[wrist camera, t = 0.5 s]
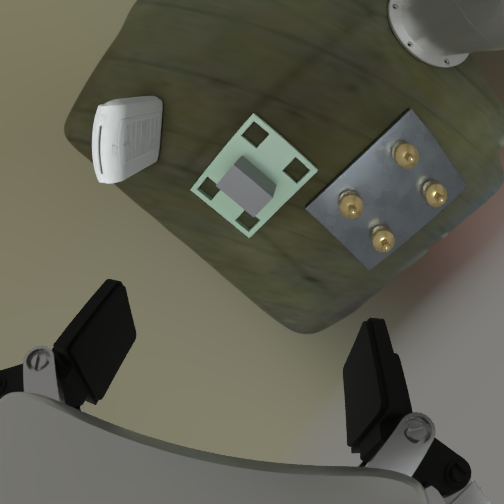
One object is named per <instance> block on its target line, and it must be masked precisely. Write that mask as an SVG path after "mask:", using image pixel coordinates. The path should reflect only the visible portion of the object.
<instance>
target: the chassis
mask: <svg viewBox="0 0 504 504" xmlns="http://www.w3.org/2000/svg"><path fill="white" fill-rule="evenodd" d="M465 188H466V185H465V183H464V182H463V180H462V178H461V177H460V175H459V173H458V172H457V170H456V169H455V167H454V166H453V164H452V163H451V161H450V160H449V158H448V157H447V155H446V154H445V152H444V151H443V149H442V148H441V147H440V145H439V144H438V142H437V141H436V140H435V138H434V137H433V136H432V134H431V133H430V132H429V130H428V129H427V128H426V126H425V125H424V124H423V123H422V121H421V120H420V119H419V118H418V116H417V115H416V114H415V113H414V111H413V110H412V109H410V108H408V109H407V110H406V111H405V112H404V113H403V114H402V115H401V116H399V117H398V118H397V119H396V120H395V121H394V122H393V123H392V124H391V125H390V126H389V127H388V128H387V129H386V130H385V131H384V132H383V133H382V134H381V135H379V136H378V137H377V138H376V139H375V140H374V141H373V142H372V143H371V144H370V145H369V146H368V147H367V148H366V149H365V150H364V151H363V152H362V153H361V154H359V155H358V156H357V157H356V158H355V159H354V160H353V161H352V162H351V163H350V164H349V165H348V166H347V167H346V168H345V169H344V170H343V171H341V172H340V173H339V174H338V175H337V176H336V177H335V178H334V179H333V180H332V181H331V182H330V183H329V184H328V185H327V186H326V187H325V188H324V189H322V190H321V191H320V192H319V193H318V194H317V195H316V196H315V197H314V198H313V199H312V200H311V201H310V202H309V203H308V204H307V205H306V206H305V209H306V210H307V211H308V212H309V213H310V214H312V215H313V216H314V217H315V218H316V219H317V220H318V221H319V222H320V223H321V224H322V225H323V226H324V227H325V228H326V229H328V230H329V231H330V232H331V233H332V234H333V235H334V236H335V237H336V238H337V239H338V240H339V241H340V242H341V243H342V244H343V245H344V246H345V247H346V248H347V249H348V250H349V251H350V252H351V253H352V254H353V255H354V256H355V257H356V258H357V259H358V260H359V261H360V262H361V263H362V264H363V265H364V266H365V267H366V268H367V269H368V270H369V271H370V270H371V269H372V268H373V267H375V266H376V265H377V264H379V263H380V262H381V261H382V260H384V259H385V258H386V257H387V256H389V255H390V254H391V253H392V252H394V251H395V250H396V249H397V248H398V247H400V246H401V245H402V244H403V243H404V242H406V241H407V240H408V239H409V238H410V237H412V236H413V235H414V234H415V233H416V232H418V231H419V230H420V229H421V228H422V227H423V226H425V225H426V224H427V223H428V222H429V221H430V220H431V219H433V218H434V217H435V216H436V215H437V214H438V213H439V212H440V211H441V210H443V209H444V208H445V207H446V206H447V205H448V204H449V203H450V202H451V201H452V200H454V199H455V198H456V197H457V196H458V195H459V194H460V193H461V192H462V191H463V190H464V189H465Z"/></svg>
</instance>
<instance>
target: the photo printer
mask: <svg viewBox="0 0 504 504" xmlns="http://www.w3.org/2000/svg"><path fill="white" fill-rule="evenodd" d="M162 110H163V103H162V100H160V99H159V98H158V97H156V96H142V97H132V98H123V99H116V100H111V101H109V102H107V103H105V104H101V105H99V106H98V109H97V111H96V115H95V119H94V125H93V133H92V156H93V164H94V169H95V173H96V176H97V179H98V181H99V182H100V183H107V184H111V183H117V182H120V181H123V180H125V179H126V178H128V177H130V176H132V175H133V174H135V173H137V172H139V171H140V170H142V169H144V168H146V167H148V166H150V165H151V164H153V163H155V162H156V161H157V160H158V155H159V148H160V137H161V124H162Z"/></svg>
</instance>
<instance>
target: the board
mask: <svg viewBox="0 0 504 504" xmlns="http://www.w3.org/2000/svg"><path fill="white" fill-rule="evenodd" d="M254 121H255V122H256V123H257V124H258V125H260V126H261V127H262V128H263V129H264V130H265V131H267V132H268V133H269V135H268V136H267V137H266V138H265V140H264V141H263V142H262V143H261V144H260V145H259V146H258V147H257V146H256V145H254V144H253V143H252V142H251V141H250V140H248V139H247V138H246V137H245V136H244V135H243V133H244V132H245V131H246V130H247V129H248V128H249V127H250V125H251V124H252V123H253V122H254ZM295 157H296V158H298V159H299V160H300V161H301V162H302V163H303V164H304V165H305V166H306V167H307V168H308V169H309V170H308V171H307V172H306V173H305V174H304V175H303V176H302V177H301V178H300V179H299V180H298V181H296V180H295V179H293V178H292V177H291V176H290V175H289V174H288V173H287V172H286V171H284V170H283V169H284V168H285V167H286V166H287V165H288V164H289V163H290V162H291V161H292V160H293V159H294V158H295ZM317 171H318V168H317V167H316V166H315V165H314V164H312V163H311V162H310V161H309V160H308V159H307V158H306V157H305V156H304V155H303V154H302V153H301V152H299V151H298V150H297V149H296V148H295V147H294V146H293V145H292V144H291V143H289V142H288V141H287V140H286V139H285V138H284V137H283V136H281V135H280V134H279V133H278V132H277V131H276V130H274V129H273V128H272V127H271V126H270V125H269V124H267V123H266V122H265V121H264V120H263V119H261V118H260V117H259V116H258V115H256V114H255V113H253V114H252V115H251V116H250V118H249V119H248V120H247V121H246V122H245V123H244V124H243V126H242V127H241V128H240V129H239V130H238V131H237V133H236V134H235V135H234V136H233V137H232V139H231V140H230V141H229V142H228V143H227V145H226V146H225V147H224V148H223V149H222V151H221V152H220V153H219V154H218V155H217V157H216V158H215V159H214V160H213V162H212V163H211V164H210V165H209V167H208V168H207V169H206V170H205V172H204V173H203V174H202V176H201V177H200V178H199V179H198V181H197V182H196V183H195V185H194V186H193V187H192V188H191V191H192V192H194V193H195V194H196V195H197V196H199V197H200V198H201V199H202V200H203V201H205V202H206V203H207V204H208V205H210V206H211V207H212V208H213V209H214V210H216V211H217V212H218V213H219V214H221V215H222V216H223V217H224V218H225V219H227V220H228V221H229V222H230V223H232V224H233V225H234V226H235V227H236V228H238V229H239V230H240V231H241V232H243V233H244V234H245V235H246V236H247V237H249V238H250V237H251V236H252V235H253V234H254V233H255V232H256V231H257V230H258V229H259V228H260V227H261V226H262V225H263V224H264V223H265V222H266V221H267V220H268V219H269V218H270V217H271V216H272V215H273V214H274V213H275V212H276V211H277V210H278V209H279V208H280V207H281V206H282V205H283V204H284V203H285V202H286V201H287V200H288V199H290V198H291V197H292V196H293V195H294V194H295V193H296V192H297V191H298V190H299V189H300V188H301V187H302V186H303V185H304V184H305V183H306V182H307V181H308V180H309V179H310V178H311V177H312V176H313V175H314V174H315V173H316V172H317ZM207 177H209V178H210V179H211V180H213V181H214V182H215V183H216V184H217V185H216V187H218V188H219V189H220V191H219V192H218V193H217V194H216V196H215V197H214V198H212V197H211V196H209V195H208V194H207V193H206V192H204V191H203V190H202V189H201V188H200V186H201V184H202V183H203V182H204V180H205V179H206V178H207ZM244 210H245V211H247V212H248V213H249V214H250V215H251V216H253V217H255V216H256V217H257V218H258V219H259V220H258V221H257V222H256V223H255V224H254V225H253V226H252V227H251V228H250V229H249V228H248V227H247V226H246V225H245V224H243V223H242V222H241V221H240V220H238V219H237V218H238V217H239V216H240V215H241V213H242V212H243V211H244Z"/></svg>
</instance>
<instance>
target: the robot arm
mask: <svg viewBox="0 0 504 504" xmlns="http://www.w3.org/2000/svg"><path fill="white" fill-rule="evenodd" d="M393 7H394V8H395V9H394V8H393ZM387 13H388V20H389V24H390V27H391V29H392V31H393V33H394V35H395V37H396V38H397V40H398V41H399V43H400V44H401V45H402V46H403V47H404V48H405V49H406V50H407V51H408V52H409V53H410V54H411V55H412V56H414V57H415V58H417V59H418V60H420V61H422V62H424V63H426V64H428V65H431V66H435V67H442V68H447V67H453V66H457V65H459V64H461V63H462V62H463V61H464V60H465V59H466V58H467V57H468V55H469V53H474V52H483V51H495V50H504V0H389V3H388V9H387ZM407 43H408V44H409V45H410V47H409V46H408V45H407ZM444 61H445V62H444ZM135 339H136V330H135V326H134V322H133V318H132V314H131V309H130V305H129V302H128V297H127V292H126V288H125V286H123V284H122V282H120V281H117V280H112V279H107V280H106V281H105V282H104V283H103V284H102V286H101V287H100V288H99V289H98V290H97V291H96V293H95V294H94V295H93V296H92V297H91V298H90V300H89V301H88V302H87V303H86V304H85V306H84V307H83V308H82V309H81V311H80V312H79V313H78V314H77V315H76V317H75V318H74V319H73V320H72V322H71V323H70V324H69V325H68V327H67V328H66V329H65V331H64V332H63V333H62V335H61V336H60V337H59V338H58V340H57V341H56V342H55V343H54V345H53V346H54V347H53V349H52V350H51V349H50V348H48V347H46V346H37V347H34V348H32V349H31V350H29V351H28V353H27V354H26V355H25V357H24V361H23V364H20V365H17V366H14V367H11V368H7V369H4V370H0V504H491V503H490V501H489V500H488V498H487V497H486V496H485V494H484V493H483V491H482V490H481V488H480V487H479V486H478V484H477V483H476V481H473V482H472V481H471V480H470V478H471V468H470V466H469V464H468V462H467V461H466V460H465V459H463V458H462V457H461V456H459V455H458V454H456V453H455V452H454V451H452V450H451V449H450V448H448V447H447V446H446V445H444V444H443V443H441V442H440V441H439V440H437V439H436V438H435V426H434V423H433V422H432V421H431V419H430V418H429V417H427V416H426V415H424V414H422V413H417V412H415V413H413V412H412V407H411V403H410V398H409V394H408V389H407V385H406V381H405V377H404V373H403V369H402V365H401V361H400V358H399V356H398V354H396V353H394V352H393V348H392V345H391V341H390V337H389V334H388V330H387V327H386V324H385V321H384V319H378V318H369V319H368V320H367V321H364V322H363V323H362V326H361V328H360V331H359V333H358V335H357V338H356V340H355V342H354V345H353V347H352V349H351V352H350V354H349V356H348V358H347V361H346V363H345V365H344V368H343V381H344V393H345V409H346V428H347V445H348V446H350V447H351V451H352V453H360V459H361V460H362V461H361V462H360V464H359V465H358V466H357V467H347V466H313V465H297V464H284V463H273V462H264V461H256V460H249V459H243V458H236V457H230V456H225V455H219V454H215V453H209V452H205V451H200V450H196V449H192V448H188V447H184V446H180V445H176V444H172V443H169V442H165V441H162V440H158V439H155V438H152V437H148V436H145V435H142V434H139V433H136V432H133V431H130V430H128V429H125V428H122V427H119V426H117V425H114V424H111V423H109V422H106V421H104V420H101V419H99V418H97V417H94V416H92V415H89V414H87V413H85V412H84V408H83V403H84V401H87V402H90V403H92V404H94V405H96V404H97V402H98V400H101V399H102V398H103V397H104V395H105V393H106V391H107V389H108V388H109V386H110V384H111V382H112V380H113V378H114V377H115V374H116V373H117V371H118V369H119V367H120V366H121V364H122V362H123V360H124V359H125V357H126V355H127V353H128V352H129V350H130V348H131V346H132V344H133V343H134V341H135Z"/></svg>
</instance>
